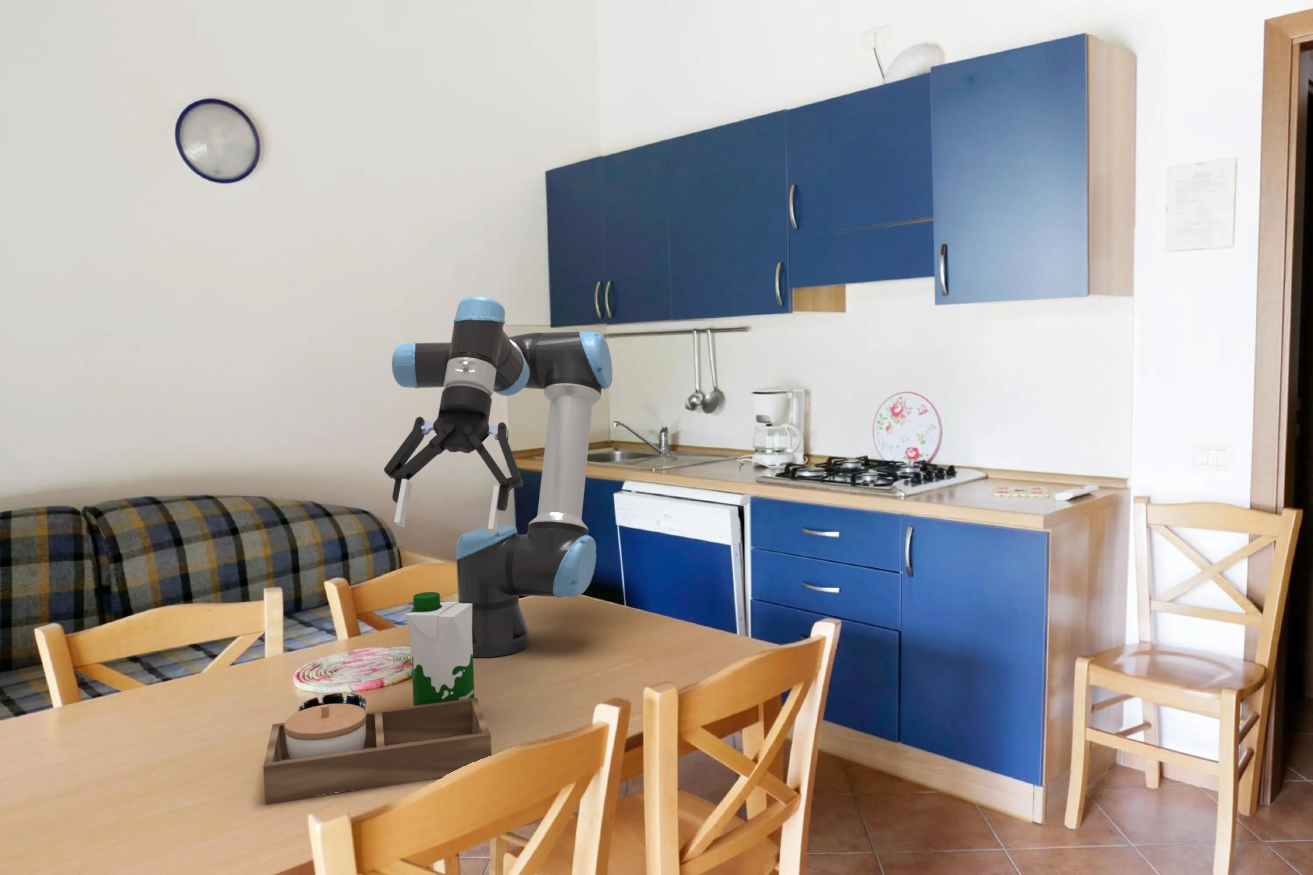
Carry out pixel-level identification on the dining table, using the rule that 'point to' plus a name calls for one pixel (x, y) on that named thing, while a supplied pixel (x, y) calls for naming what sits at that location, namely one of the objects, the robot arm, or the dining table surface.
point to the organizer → (383, 752)
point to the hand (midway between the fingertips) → (445, 528)
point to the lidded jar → (325, 730)
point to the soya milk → (440, 649)
